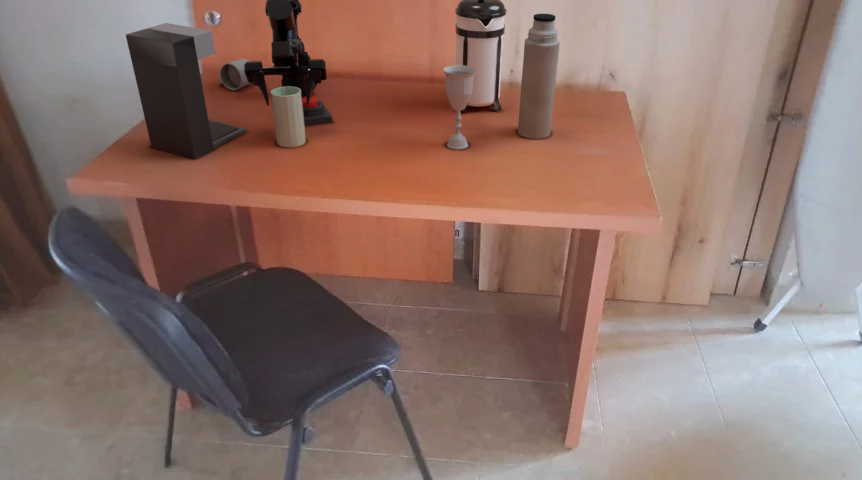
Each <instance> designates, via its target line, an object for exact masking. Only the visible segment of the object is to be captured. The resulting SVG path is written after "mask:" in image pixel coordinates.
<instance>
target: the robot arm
mask: <svg viewBox="0 0 862 480" xmlns="http://www.w3.org/2000/svg"><path fill="white" fill-rule="evenodd" d="M264 10H265V11H264V12H265V15H266V17H267V18H268V22H269V26H270V28H271V33H272V35H271V36H272V41H271V43H270V44H271V63H272V64H273V66H263V62H262V60H254V61H253V60H249V62H246V63H245V64H244V72H245V75H246V78H247V81H248V82H249V83H251V84H252V85H253V86H255V87H258V88H259V90H260V91H261V94H262V96H263V99H264V101H265V104H266V106H267V107H269V106H270V99H269V93H268V87H267V86H268V85H267V82H266V80H265V77H266V76H281V78H282V79H281V81H280V82H281V87H285V86H292V87H297V88H300V90H301V94H302V98H303V97H306V101H307V104H309V102H310V99H311V97H313V93H314V91H315V89H316V87H317V85H318V84H322V81H326V80H327V79H328V77H327V74H328V73H327V65H326V60H325V59H323V58H312V59H311V56H310V55H309V52H308V51H306V46H305V44H304V43H303V41H302V38H301V37H300V36H299V25H298V16H300V15H301V13H302V11H303V5H302V3H301V1H300V0H266V1H265V7H264Z"/></svg>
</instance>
